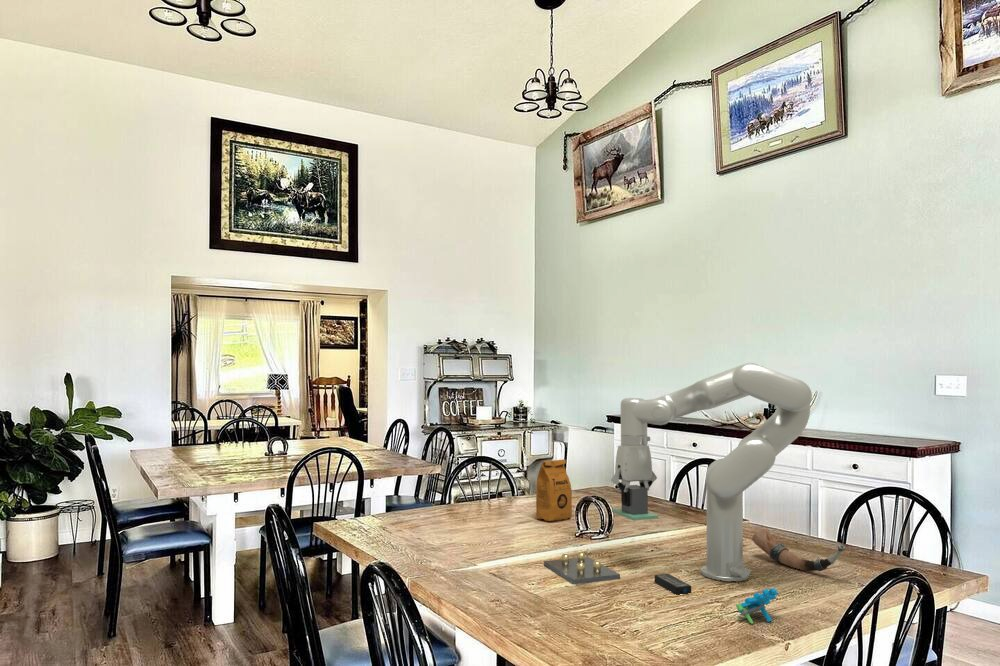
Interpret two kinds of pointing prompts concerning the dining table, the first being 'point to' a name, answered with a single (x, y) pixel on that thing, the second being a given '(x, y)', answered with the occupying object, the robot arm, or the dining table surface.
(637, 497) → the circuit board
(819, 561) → the drinking horn
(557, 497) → the coffee package
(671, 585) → the multiport hub
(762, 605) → the blue toy dinosaur
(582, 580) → the plate
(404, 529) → the dining table surface
